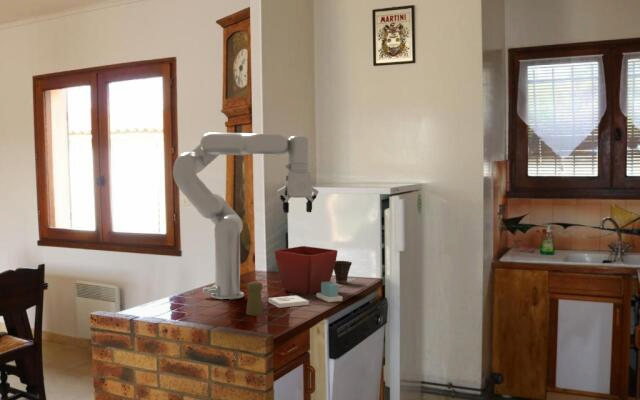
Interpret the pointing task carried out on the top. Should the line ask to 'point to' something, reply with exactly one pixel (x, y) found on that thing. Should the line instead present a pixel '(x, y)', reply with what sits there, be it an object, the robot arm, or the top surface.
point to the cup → (342, 271)
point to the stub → (329, 292)
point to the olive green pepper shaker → (254, 299)
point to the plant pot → (305, 268)
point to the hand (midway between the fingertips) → (297, 212)
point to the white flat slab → (288, 301)
